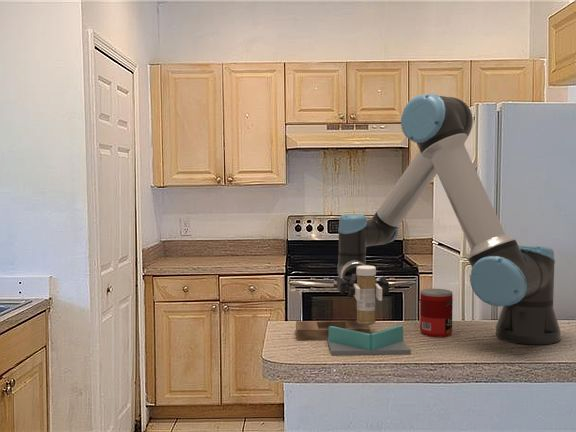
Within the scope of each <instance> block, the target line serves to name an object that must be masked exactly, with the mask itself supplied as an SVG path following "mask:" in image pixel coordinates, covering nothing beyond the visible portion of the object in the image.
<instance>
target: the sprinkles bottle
mask: <svg viewBox="0 0 576 432" xmlns="http://www.w3.org/2000/svg"><path fill="white" fill-rule="evenodd" d="M356 274H357V285H358V286H359V288H360V301H357V300H356V322H357V323H359V324H364V325H368V326H369V325H374V324H376V296H375V278H376V275H377V268H376V266H374V265H366V266H358V267H357V268H356Z"/></svg>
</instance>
